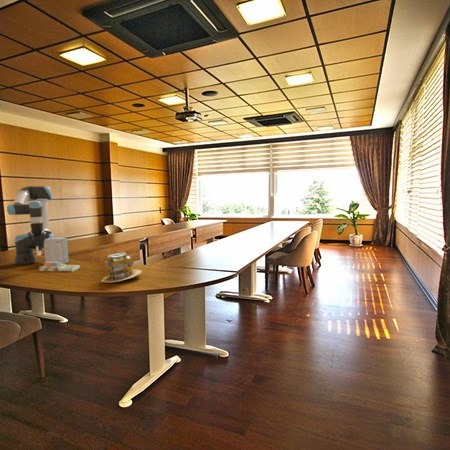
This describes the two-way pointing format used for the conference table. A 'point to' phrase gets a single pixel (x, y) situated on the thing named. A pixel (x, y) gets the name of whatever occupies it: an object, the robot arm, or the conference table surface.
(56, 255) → the hard drive box
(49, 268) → the board
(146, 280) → the conference table surface
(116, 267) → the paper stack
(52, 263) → the slate tile
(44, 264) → the terracotta tile
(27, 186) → the robot arm
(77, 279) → the conference table surface
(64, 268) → the tray
